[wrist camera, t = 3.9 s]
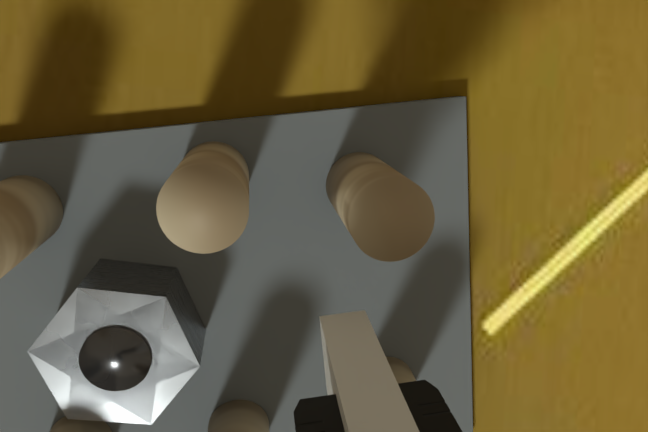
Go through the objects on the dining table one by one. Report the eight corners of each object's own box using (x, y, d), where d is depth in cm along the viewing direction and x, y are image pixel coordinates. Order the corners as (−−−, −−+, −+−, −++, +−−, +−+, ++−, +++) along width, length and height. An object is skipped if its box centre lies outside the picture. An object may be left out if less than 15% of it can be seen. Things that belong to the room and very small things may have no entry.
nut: (106, 402, 23) (85, 452, 20) (38, 282, 21) (4, 316, 18) (220, 358, 23) (215, 400, 20) (161, 234, 21) (147, 261, 18)
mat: (-217, 551, 23) (-229, 563, 23) (-377, 180, 19) (-397, 183, 18) (468, 437, 26) (473, 446, 26) (460, 96, 22) (466, 96, 22)
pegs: (58, 481, 23) (2, 600, 18) (-24, 165, 20) (-122, 199, 15) (415, 423, 25) (459, 517, 20) (399, 121, 21) (448, 138, 16)
